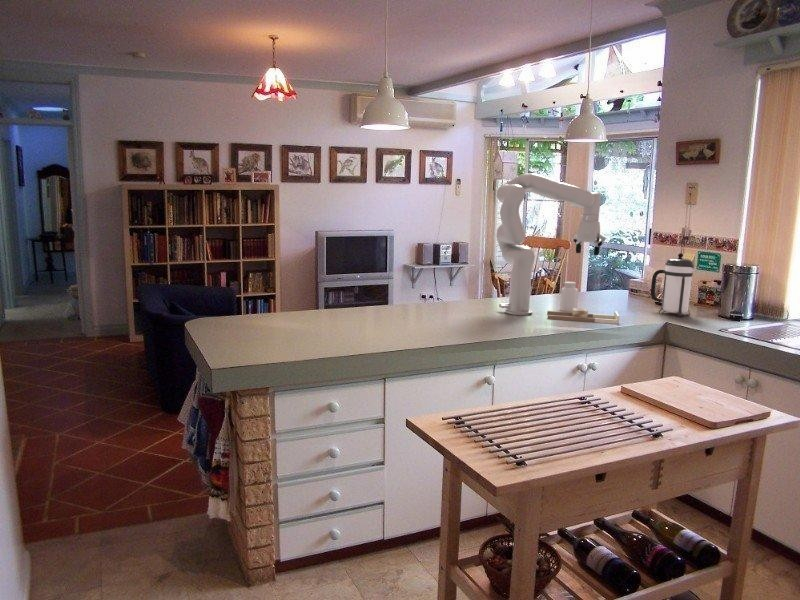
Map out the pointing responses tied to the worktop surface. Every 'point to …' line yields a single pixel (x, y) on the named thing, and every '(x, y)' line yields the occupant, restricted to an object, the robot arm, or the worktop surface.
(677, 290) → the coffee press
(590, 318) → the lane
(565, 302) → the pill bottle
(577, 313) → the block
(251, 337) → the worktop surface
